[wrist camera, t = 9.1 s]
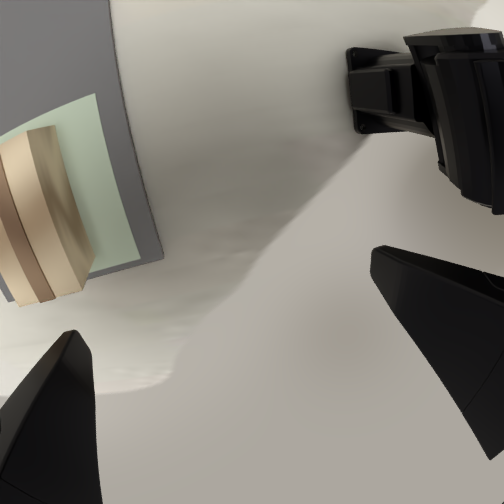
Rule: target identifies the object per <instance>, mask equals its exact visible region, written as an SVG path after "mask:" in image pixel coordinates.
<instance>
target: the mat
mask: <svg viewBox="0 0 504 504" xmlns="http://www.w3.org/2000/svg"><path fill="white" fill-rule="evenodd" d="M51 125H55V129H56V133H57V138H58V142H59V146H60V150H61V154H62V158H63V162H64V165H65V169H66V173H67V176H68V180H69V183H70V186H71V190H72V193H73V196H74V199H75V202H76V205H77V208H78V211H79V214H80V217H81V220H82V223H83V225H84V228H85V231H86V234H87V236H88V239H89V241H90V244H91V247H92V249H93V252H94V254H95V259H94V261H93V264H92V266H91V269H90V272H89V274H88V277H87V279H86V280H88V279H91V278H95V277H99V276H102V275H106V274H109V273H113V272H117V271H120V270H124V269H128V268H131V267H135V266H139V265H142V264H146V263H150V262H153V261H157V260H161V259H164V253H163V250H162V247H161V244H160V240H159V237H158V234H157V231H156V227H155V224H154V221H153V217H152V214H151V211H150V207H149V204H148V200H147V196H146V193H145V189H144V186H143V182H142V178H141V174H140V170H139V166H138V162H137V158H136V154H135V150H134V146H133V142H132V137H131V133H130V128H129V124H128V119H127V114H126V109H125V104H124V99H123V94H122V89H121V83H120V78H119V72H118V66H117V59H116V53H115V46H114V39H113V31H112V22H111V13H110V3H109V0H0V144H2V143H4V142H6V141H8V140H9V139H11V138H13V137H15V136H17V135H19V134H21V133H23V132H25V131H28V130H32V129H37V128H42V127H46V126H51ZM0 289H1V290H2V292H3V294H4V296H5V297H6V299H7V301H8V302H11V301H15V299H14V297H13V296H12V294H11V292H10V290H9V288H8V286H7V285H6V283H5V281H4V279H3V277H2V275H1V273H0Z"/></svg>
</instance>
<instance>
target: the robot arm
mask: <svg viewBox="0 0 504 504" xmlns="http://www.w3.org/2000/svg"><path fill="white" fill-rule="evenodd" d="M403 38H404V41H405V43H406V45H408V47H409V49H410V52H411V53H398V52H392V51H385V50H377V49H368V48H358V47H353V48H349V49H348V50H347V60H348V67H349V82H350V91H351V101H352V107H353V114H354V127H355V130H356V132H357V133H359V134H373V133H387V132H404V131H409V132H413V133H417V134H422V135H426V136H429V137H433V138H435V141H436V146H437V152H438V157H439V161H438V166H439V170H440V171H441V172H442V173H444V174H445V175H446V176H447V177H448V178H449V179H450V181H451V182H452V183H453V184H454V185H455V186H456V187H457V188H459V189H460V190H461V195H462V196H464V197H465V198H466V199H468V200H471V201H473V202H475V203H478V204H480V205H482V206H486V207H488V208H492V213H493V214H494V215H502V214H504V38H503V34H502V32H501V31H497V30H490V29H483V28H475V27H467V28H450V29H441V30H435V31H430V32H424V33H419V34H414V35H409V36H405V37H403ZM353 51H354V52H355V54H356V55H355V56H354V55H353ZM361 125H363V129H362V130H361V128H360V127H361ZM370 274H371V277H372V279H373V281H374V283H375V284H376V286H377V287H378V289H379V290H380V292H381V294H382V295H383V297H384V299H385V300H386V302H387V303H388V305H389V307H390V309H391V310H392V312H393V313H394V315H395V316H396V318H397V319H398V320H399V321H400V323H401V324H402V326H403V327H404V328H405V330H406V331H407V333H408V334H409V335H410V337H411V338H412V339H413V341H414V342H415V344H416V345H417V346H418V348H419V349H420V351H421V352H422V354H423V355H424V356H425V358H426V359H427V361H428V362H429V364H430V365H431V367H432V368H433V369H434V371H435V372H436V374H437V375H438V377H439V378H440V380H441V381H442V382H443V384H444V386H445V387H446V389H447V390H448V392H449V394H450V395H451V397H452V398H453V400H454V401H455V403H456V405H457V406H458V408H459V409H460V411H461V412H462V414H463V416H464V418H465V419H466V421H467V423H468V424H469V426H470V427H471V429H472V431H473V433H474V434H475V436H476V438H477V440H478V441H479V443H480V445H481V447H482V448H483V450H484V452H485V454H486V456H487V457H488V459H489V460H492V459H493V458H494V457H495V456H497V455H498V454H499V453H500V452H502V451H503V450H504V277H500V276H496V275H494V274H490V273H487V272H482V271H479V270H476V269H473V268H469V267H466V266H462V265H458V264H455V263H451V262H448V261H444V260H440V259H437V258H433V257H429V256H425V255H421V254H417V253H414V252H410V251H406V250H402V249H398V248H394V247H390V246H386V245H383V246H379V247H376V248H374V249H373V250H372V253H371V265H370ZM95 416H96V415H95V391H94V380H93V366H92V354H91V351H90V349H89V347H88V346H87V344H86V343H85V341H84V340H83V338H82V336H81V335H80V333H79V332H78V331H77V330H70V331H66V332H64V333H63V334H62V335H61V336H60V337H59V338H58V339H57V340H56V342H55V343H54V344H53V345H52V346H51V347H50V348H49V350H48V351H47V352H46V353H45V354H44V355H43V357H42V358H41V359H40V360H39V361H38V362H37V364H36V365H35V366H34V367H33V368H32V370H31V371H30V372H29V373H28V374H27V376H26V377H25V378H24V379H23V381H22V382H21V383H20V384H19V386H18V387H17V388H16V389H15V391H14V392H13V393H12V394H11V396H10V397H9V398H8V400H7V401H6V402H5V404H4V405H3V406H2V408H1V409H0V504H103V502H102V495H101V487H100V479H99V470H98V459H97V443H96V420H95V419H96V417H95ZM502 504H504V502H503V503H502Z"/></svg>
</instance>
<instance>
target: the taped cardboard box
mask: <svg viewBox="0 0 504 504" xmlns="http://www.w3.org/2000/svg"><path fill="white" fill-rule="evenodd" d="M94 259H95V254H94V252H93V249H92V247H91V244H90V241H89V239H88V236H87V234H86V231H85V228H84V225H83V223H82V220H81V217H80V214H79V211H78V208H77V205H76V202H75V199H74V196H73V193H72V190H71V186H70V183H69V180H68V176H67V173H66V169H65V165H64V162H63V158H62V154H61V150H60V146H59V142H58V138H57V133H56V129H55V125H51V126H46V127H42V128H37V129H32V130H28V131H25V132H23V133H21V134H19V135H17V136H15V137H13V138H11V139H9V140H8V141H6V142H4V143H2V144H0V273H1V275H2V277H3V279H4V281H5V283H6V285H7V286H8V288H9V290H10V292H11V294H12V296H13V297H14V299H15V301H16V303H17V304H18V306H19V307H22V306H26V305H29V304H33V303H37V302H40V303H42V302H46V301H49V300H53V299H56V297H60V296H63V295H67V294H71V293H75V292H79V291H82V290H83V288H84V285H85V282H86V279H87V277H88V274H89V272H90V269H91V266H92V264H93V261H94Z"/></svg>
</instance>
